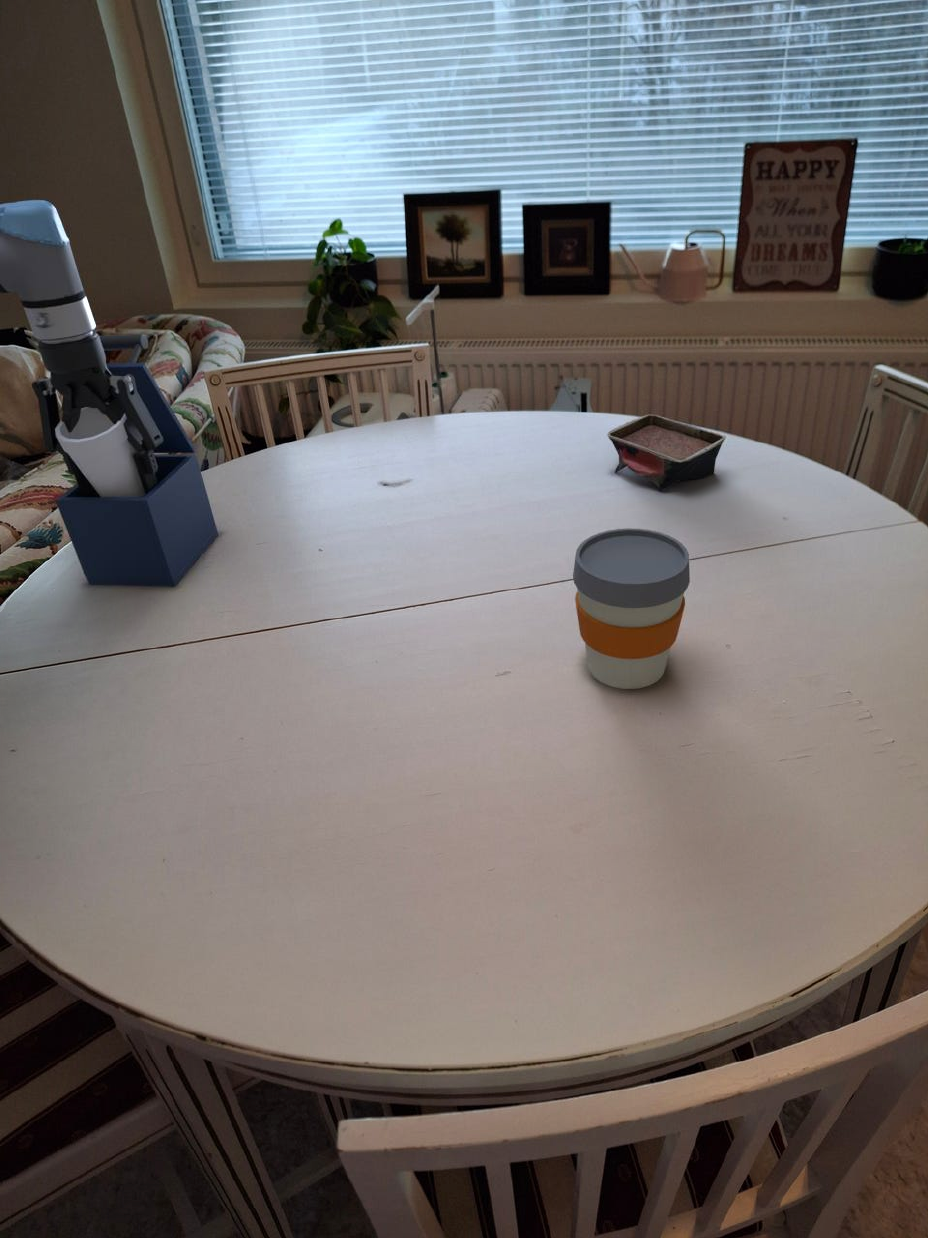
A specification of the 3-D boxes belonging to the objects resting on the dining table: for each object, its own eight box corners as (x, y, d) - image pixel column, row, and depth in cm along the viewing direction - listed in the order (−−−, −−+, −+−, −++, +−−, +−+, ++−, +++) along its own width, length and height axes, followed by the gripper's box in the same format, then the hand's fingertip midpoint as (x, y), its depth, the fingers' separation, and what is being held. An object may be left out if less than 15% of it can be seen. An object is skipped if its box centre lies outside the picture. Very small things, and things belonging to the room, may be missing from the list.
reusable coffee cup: (551, 673, 94) (550, 563, 86) (608, 623, 102) (612, 517, 94) (646, 714, 87) (654, 598, 79) (700, 656, 95) (712, 545, 87)
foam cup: (172, 480, 120) (137, 404, 110) (141, 520, 114) (101, 443, 104) (118, 476, 122) (79, 401, 113) (84, 515, 116) (41, 439, 107)
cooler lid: (142, 366, 108) (161, 322, 113) (49, 369, 111) (72, 326, 115) (194, 452, 122) (210, 411, 127) (111, 453, 125) (129, 412, 129)
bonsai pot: (664, 512, 130) (679, 457, 123) (592, 464, 141) (602, 410, 134) (724, 492, 136) (741, 438, 130) (651, 447, 147) (664, 396, 141)
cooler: (174, 586, 118) (146, 500, 110) (88, 584, 120) (54, 500, 112) (218, 534, 131) (196, 453, 123) (139, 533, 133) (112, 454, 125)
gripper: (-28, 346, 102) (38, 505, 115) (130, 341, 99) (180, 505, 111) (8, 330, 108) (67, 483, 121) (158, 324, 105) (203, 482, 117)
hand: (121, 493), depth 116 cm, fingers closed on foam cup, 9 cm apart
